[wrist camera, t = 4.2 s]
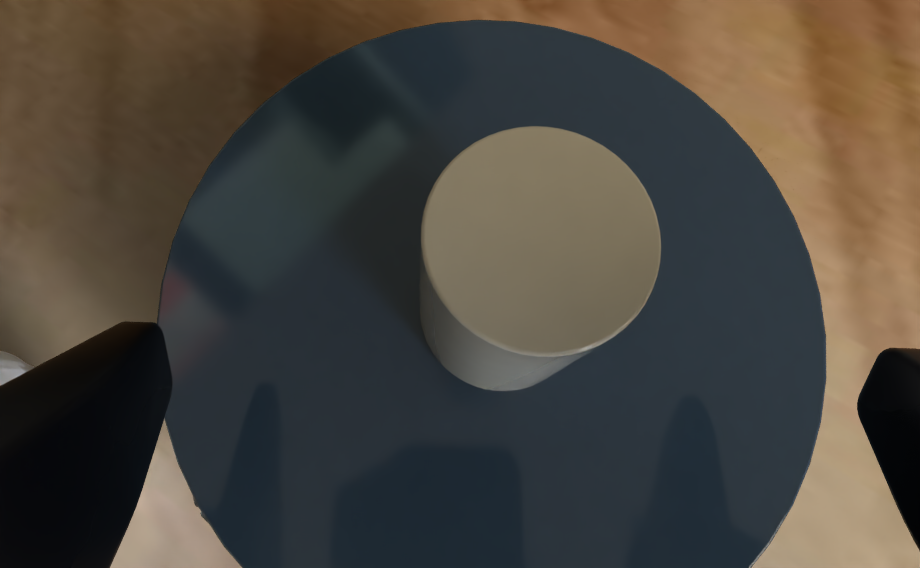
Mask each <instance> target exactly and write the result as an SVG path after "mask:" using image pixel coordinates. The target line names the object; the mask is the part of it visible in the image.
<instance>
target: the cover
mask: <svg viewBox="0 0 920 568" xmlns="http://www.w3.org/2000/svg"><path fill="white" fill-rule="evenodd" d="M157 324H158V325H159V326H160V327H161V329H162V331H163V334H164V338H165V343H166V348H167V353H168V358H169V363H170V368H171V373H172V379H173V386H172V394H171V398H170V401H169V404H168V408H167V411H166V414H165V417H164V419H165V422H166V426H167V429H168V432H169V436H170V439H171V442H172V446H173V449H174V452H175V455H176V459H177V462H178V464H179V467H180V469H181V471H182V473H183V475H184V477H185V480H186V482H187V484H188V486H189V488H190V490H191V493H192V495H193V499H194V503H195V505H196V507H199V509H200V510H201V513H200V514H201V516H202V517H203V518H204V519H205V520H206V521H207V522H208V523H209V524H210V526H211V527H212V529H213V530H214V532H215V533H216V535H217V537H218V538H219V540H220V541H221V543H222V544H223V546H224V547H225V548H226V550H227V551H228V552H229V553H230V554H231V555H232V556H233V558H234V559H235V560H236V561H237V562H238V563H239V564H240V566H241V567H242V568H751V567H752V566H753V564H754V563H755V562H756V561H757V559H758V558H759V557H760V556H761V554H762V553H763V552H764V551H765V549H766V548H767V547H768V546H769V544H770V543H771V541H772V540H773V538H774V536H775V534H776V533H777V531H778V529H779V528H780V526H781V524H782V523H783V521H784V519H785V517H786V516H787V514H788V512H789V511H790V509H791V507H792V506H793V503H794V501H795V499H796V496H797V494H798V491H799V489H800V487H801V484H802V482H803V479H804V477H805V474H806V472H807V470H808V467H809V465H810V462H811V458H812V454H813V450H814V446H815V442H816V439H817V435H818V431H819V427H820V423H821V417H822V409H823V401H824V393H825V384H826V334H825V327H824V319H823V312H822V305H821V298H820V292H819V289H818V285H817V281H816V278H815V274H814V270H813V266H812V263H811V259H810V255H809V252H808V250H807V248H806V245H805V243H804V240H803V238H802V235H801V233H800V230H799V228H798V225H797V223H796V220H795V218H794V216H793V214H792V212H791V210H790V208H789V207H788V205H787V203H786V201H785V199H784V198H783V196H782V194H781V192H780V190H779V189H778V187H777V185H776V183H775V181H774V180H773V178H772V177H771V176H770V174H769V173H768V171H767V170H766V169H765V167H764V166H763V164H762V163H761V162H760V160H759V159H758V157H757V156H756V155H755V153H754V152H753V151H752V149H751V148H750V147H749V146H748V145H747V143H746V142H745V141H744V140H743V139H742V138H741V137H740V136H739V135H738V134H737V132H736V131H735V130H734V129H733V128H732V127H731V126H730V125H729V124H728V123H727V121H726V120H725V119H724V118H723V117H721V116H720V115H719V114H718V113H717V112H716V111H715V110H713V109H712V108H711V107H710V106H709V105H708V104H707V103H705V102H704V101H703V100H702V99H701V98H700V97H699V96H697V95H696V94H695V93H694V92H692V91H691V90H690V89H688V88H687V87H685V86H684V85H682V84H681V83H679V82H678V81H677V80H675V79H674V78H672V77H671V76H669V75H668V74H666V73H665V72H663V71H662V70H660V69H658V68H656V67H655V66H653V65H651V64H649V63H647V62H645V61H643V60H642V59H640V58H638V57H636V56H634V55H632V54H630V53H628V52H626V51H624V50H621V49H619V48H616V47H614V46H611V45H609V44H606V43H604V42H601V41H599V40H596V39H594V38H591V37H587V36H584V35H580V34H576V33H573V32H569V31H565V30H562V29H558V28H554V27H548V26H542V25H535V24H529V23H522V22H515V21H491V20H470V21H456V22H443V23H435V24H430V25H425V26H419V27H414V28H409V29H404V30H399V31H396V32H393V33H390V34H387V35H384V36H380V37H377V38H374V39H371V40H368V41H365V42H362V43H360V44H358V45H356V46H353V47H351V48H349V49H347V50H344V51H342V52H340V53H338V54H336V55H333V56H331V57H329V58H327V59H325V60H324V61H322V62H321V63H319V64H317V65H316V66H314V67H312V68H311V69H309V70H307V71H306V72H304V73H302V74H301V75H299V76H298V77H296V78H294V79H293V80H292V81H290V82H289V83H288V84H287V85H285V86H284V87H283V88H282V89H280V90H279V91H278V92H276V93H275V94H274V95H273V96H271V97H270V98H269V99H268V100H266V101H265V102H264V103H263V104H262V105H261V106H260V107H259V108H258V109H257V110H256V111H255V112H254V113H253V114H252V115H251V116H250V117H249V118H248V119H247V120H246V121H245V122H244V123H243V124H242V125H241V126H240V127H239V128H238V129H237V130H236V131H235V132H234V133H233V135H232V136H231V137H230V139H229V140H228V141H227V143H226V144H225V145H224V147H223V148H222V149H221V151H220V152H219V153H218V154H217V156H216V157H215V158H214V160H213V161H212V162H211V164H210V165H209V167H208V169H207V170H206V172H205V174H204V176H203V177H202V179H201V181H200V183H199V184H198V186H197V188H196V190H195V191H194V193H193V195H192V197H191V198H190V200H189V202H188V204H187V207H186V209H185V212H184V214H183V217H182V219H181V221H180V224H179V226H178V229H177V231H176V234H175V236H174V239H173V241H172V245H171V249H170V253H169V257H168V260H167V264H166V268H165V272H164V276H163V280H162V284H161V292H160V300H159V309H158V317H157Z"/></svg>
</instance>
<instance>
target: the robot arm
mask: <svg viewBox="0 0 920 568" xmlns="http://www.w3.org/2000/svg"><path fill="white" fill-rule="evenodd" d="M172 386H173V379H172V373H171V368H170V363H169V358H168V353H167V348H166V343H165V338H164V334H163V331H162V329H161V327H160V326H159V325H158V324H156V323H153V322H121V323H119V324H117V325H115V326H113V327H111V328H109V329H107V330H105V331H104V332H102V333H100V334H98V335H96V336H94V337H92V338H90V339H88V340H86V341H85V342H83V343H81V344H79V345H77V346H75V347H73V348H71V349H69V350H67V351H65V352H64V353H62V354H60V355H58V356H56V357H54V358H52V359H50V360H48V361H46V362H45V363H43V364H41V365H39V366H37V367H35V368H33V369H31V370H29V371H27V372H25V373H24V374H22V375H20V376H18V377H16V378H14V379H12V380H10V381H8V382H6V383H5V384H3V385H1V386H0V568H110V566H111V564H112V562H113V559H114V557H115V555H116V553H117V550H118V548H119V546H120V544H121V541H122V539H123V537H124V535H125V532H126V530H127V528H128V525H129V523H130V521H131V518H132V516H133V513H134V511H135V509H136V506H137V503H138V500H139V497H140V494H141V491H142V488H143V485H144V482H145V479H146V475H147V472H148V469H149V466H150V463H151V459H152V456H153V453H154V450H155V446H156V443H157V440H158V437H159V433H160V430H161V427H162V424H163V421H164V417H165V414H166V411H167V408H168V404H169V401H170V398H171V394H172ZM857 410H858V415H859V418H860V421H861V423H862V425H863V428H864V430H865V432H866V435H867V437H868V439H869V442H870V444H871V446H872V449H873V451H874V453H875V456H876V458H877V460H878V463H879V465H880V467H881V470H882V472H883V474H884V477H885V479H886V481H887V484H888V486H889V488H890V491H891V493H892V495H893V498H894V500H895V502H896V505H897V507H898V509H899V511H900V513H901V516H902V518H903V520H904V522H905V524H906V526H907V528H908V530H909V532H910V534H911V536H912V538H913V539H914V541H915V543H916V545H917V547H918V549H919V550H920V349H910V348H889V349H886V350H884V351H882V352H881V353H880V354H879V355H878V357H877V359H876V361H875V363H874V365H873V367H872V369H871V371H870V374H869V376H868V378H867V380H866V382H865V384H864V386H863V388H862V390H861V393H860V395H859V397H858V402H857Z"/></svg>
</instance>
